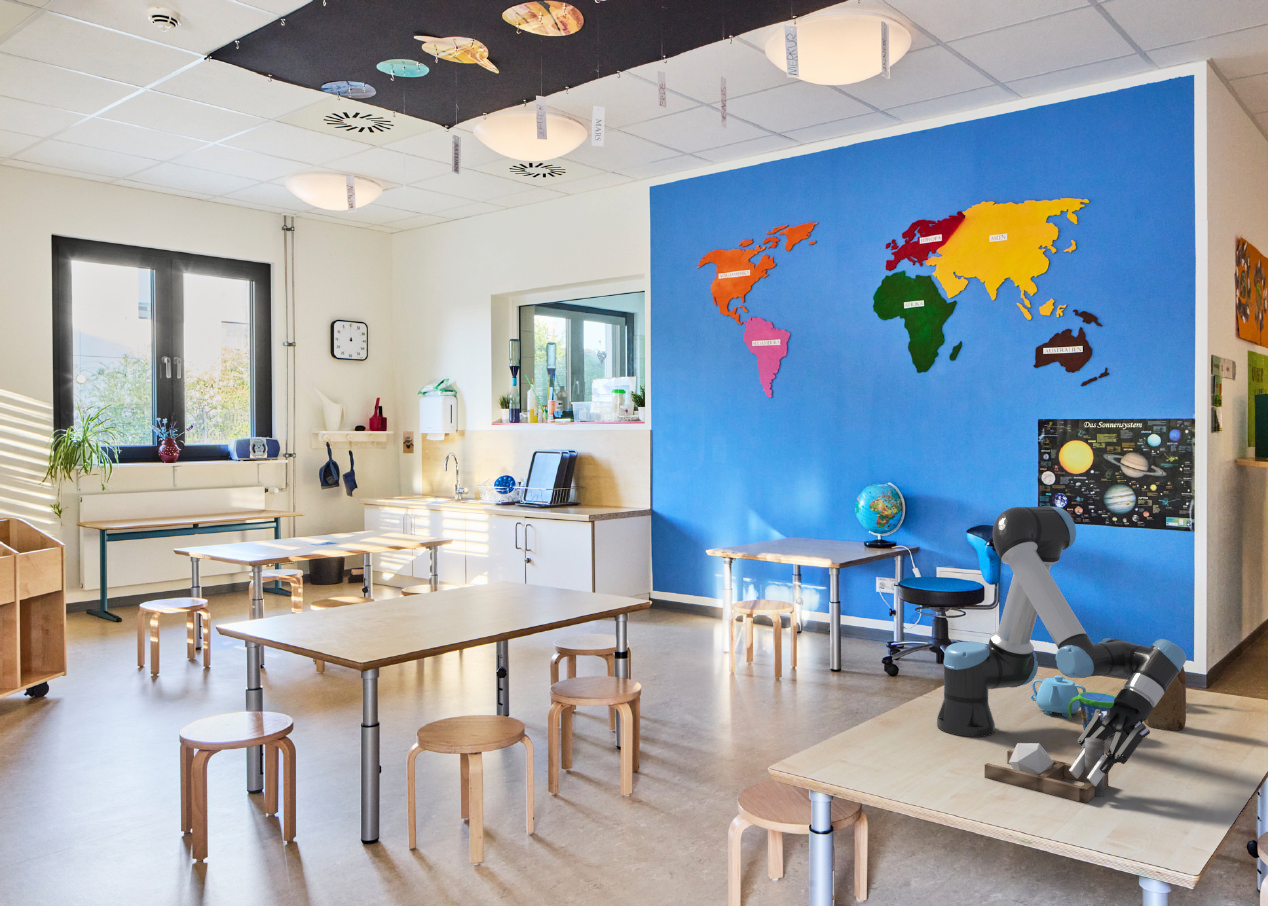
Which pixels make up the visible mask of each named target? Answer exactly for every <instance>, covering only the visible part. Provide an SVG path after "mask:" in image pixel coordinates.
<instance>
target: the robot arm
mask: <svg viewBox="0 0 1268 906" xmlns="http://www.w3.org/2000/svg"><path fill="white" fill-rule="evenodd" d="M1076 538H1077V527H1076V523H1075V522H1074V520H1073V517H1072V516H1071V515H1070V513H1069V512H1068V511H1066V509H1063V508H1061V507H1059V506H1050V505H1044V506H1014V507H1010V508H1007V509H1005V510H1003V512H1001V513H1000V514H999V516H998V517H997V518H996V519H995V522H994V523H993V526H992V541H993V542H992V543H993V546H994V549H995V552H996V553H997V555H998V557H999V558H1000V561H1001V563H1003V564H1004V565H1008V566H1009V568H1010V569H1011V570H1012V573H1013V575H1012V579H1011V582H1010V585H1009V589H1008V592H1007V595H1006V600H1005V605H1004V607H1003V610H1002V611H1003V612H1002V614H1001V618H1000V621H999V626H998V630H997V631H996V632H993V633H991V635H990V637H989V641H988V644H986V643H983V642H980V641H960V642H959V641H958V642H954V643H952V644H949V645H948V646H947V647H946V648H945V651H944V658H943V666H944V668H943V669H944V670H943V673H944V674H943V685H944V686H943V700H942V703H941V706H940V709H939V711H938V715H937V719H936V721H937V722H936V726H937V728H938V729H940V730H941V731H943V732H946V733H948V734H952V735H956V736H963V737H988V736H992V735H993V734H995V731H996V729H995V727H996V726H995V720H994V717H993V714H992V711H991V708H990V704H989V690H995V689H996V690H997V689H1003V688H1019V687H1021V686H1026V685H1027V684H1029V683H1031V682H1033V681H1034V679H1035V677H1036V675H1037V673H1038V669H1039V661H1038V660H1037V654H1036V651H1034V648H1035V647H1034V645H1033V643H1032V642H1031V638H1032V634H1033V630H1034V627H1035V626H1036V625H1035V624H1036V620H1037V617H1038V616H1039V618H1040V621H1041V622H1042V623H1043V625H1044V627H1045V629H1046V631H1047V632H1048V634H1049V635H1050V637H1051V639H1052V641H1053V642H1054V644H1055V646H1056V647H1057V652H1056V654H1055V661H1056V667H1057V669H1058V670H1059V672H1060V673H1061V674H1062V676H1063V675H1064V676H1065V677H1067V678H1073V679H1076V678H1077V679H1086V678H1090V677H1099V676H1109V675H1110V676H1111V675H1119V674H1124V675H1125V674H1126V675H1130V677H1129V678H1128V679H1127V681H1126V682H1125V683H1124V685H1123V687H1122V688H1121V689H1120V690H1119V692H1118V693H1117V694H1116V698H1115V699H1114V704H1113V707H1111V708H1110V709H1109V710H1108V711H1102V712H1101V711H1100V710H1099V709H1096V710H1095V713H1094V717H1093V718H1092V720H1091V721H1090V723H1089V724H1088V726H1087V727H1086V729H1085V730H1084V729H1083V732H1082V733H1081V735H1080V736H1079V738H1078V739H1077V741H1076V742H1077V743H1078V744H1079V745H1080V747H1081V749H1080V750H1079V752H1078V753H1077V755H1076V756H1075V758H1074V759H1075V760H1074V762H1073V763H1072V764H1073V765H1072V766H1071V768H1070V769H1069V771H1070V772H1071V773H1072V775H1073V776H1074V777H1075V778H1077V779H1078V778H1079V776H1080V775H1081V774H1082V772H1083V771H1084V769H1085V738H1098V739H1101V740H1103V741H1106V740H1108V738H1110V737H1111V736H1110V735H1112V736H1113V735H1114V737H1113V739H1112V742H1111V743H1110V745H1109V749H1108V751H1107V752H1105V753H1104V755H1102V756H1101V758H1100V759H1099V761H1098V762H1097V764H1096V765H1095V766H1094V768H1093V769H1092V771H1091V772H1090V774H1089V775H1088V777H1087V779H1088V780H1089V781H1090V782H1091V783H1092V784H1093V785H1094V786H1097V784H1098V783H1099V781H1100V780H1101V778H1102V777H1103V775H1104V774H1107V773H1108V774H1109V772H1110V771H1111V769H1112V768H1113V767H1114V765H1115V764H1117V763H1120V764H1123V765H1124V764H1126V763H1127V762H1128V760H1129V759H1130V757H1131V756H1132V755H1133V753H1134V752H1135V751H1136V750H1137V748H1138V746H1139V745H1140V743H1141V742H1142V741H1143V740H1144V738H1146V737H1147V736H1149V735H1150V733H1151V732H1150V731H1151V730H1150V729H1149V728H1148V727H1147V725H1146V724H1145V723H1144V721H1146V720H1147V718H1148V717H1149V715H1150V714H1151V712H1152V711H1153V707H1155V706H1156V705H1157V703H1158V702H1159V700H1160V699H1161V697H1162V696H1163V695H1164V693H1165V691H1166V690H1167V688H1168V687H1169V686H1170V684H1171V683H1172V681H1173V680H1174V679H1175V678H1176V676H1177V675H1178V674H1179V673H1180V671H1181V669H1182V667H1184V665H1185V664H1186V661H1187V653H1185V652H1184V650H1183V649H1182V648H1181V647H1180V646H1178V644H1176V643H1174V642H1172V641H1170V640H1168V639H1164V638H1160V639H1156V640H1155V641H1154V642H1153V643H1152V644H1151V645H1150V646H1147V645H1141V644H1136V643H1132V642H1130V641H1129V642H1128V641H1125V640H1122V639H1120V638H1109V637H1107V638H1102V640H1100V641H1099V642H1098V643H1097V642H1096V643H1093V641H1092V640H1091V638H1090V637H1089V635H1088V633H1087V631H1086V630H1085V628H1083V627H1084V626H1082V624H1081V622H1080V620H1079V619H1078V617H1077V616H1076V614H1075V612H1074V611H1073V609H1072V607H1071V606H1070V603H1068V601H1067V600H1066V598H1065V596H1064V594H1063V593H1062V591H1061V589H1060V588H1059V586H1058V585H1057V583H1056V581H1055V579H1054V578H1053V577H1052V575H1051V573H1050V572H1051V567H1052V565H1054V564H1057V563H1059V561H1060V558H1061V554H1062V553H1063V551H1065V550H1067V549H1069V548H1070V547H1072V546H1073V545H1074V543H1075V541H1076ZM1109 736H1110V737H1109Z"/></svg>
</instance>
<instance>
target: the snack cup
mask: <svg viewBox="0 0 1268 906" xmlns="http://www.w3.org/2000/svg"><path fill="white" fill-rule="evenodd" d="M1116 696H1117V695H1116ZM1116 696H1115V695H1112V694H1109V693H1103V692H1096V691H1095V692H1094V691H1088V692H1087V691H1086V692H1083V691H1082V692H1081V693H1080V692H1079V695H1078V696H1076V697H1074V698H1073V699H1072V700H1071V701H1070V703H1069V706H1068V714H1069V718H1068V719H1070V720H1072V719H1073V717H1072V714H1071V712H1072V703H1073V702H1075V701H1076V700H1078V701H1080V705H1081V707H1080V713H1081V721H1082V728H1083V731H1084V730H1085V729H1086V727H1087V726H1088V724H1089V723H1090V721H1091V720H1092V718H1093V717H1094V713H1095V710H1096V709H1099V710H1100V711H1101V712H1102V711H1108V710H1109V709H1110V708H1111V707H1113V704H1114V699H1115V698H1116ZM1112 736H1113V735H1110V736H1109V737H1108V738H1110V737H1112Z"/></svg>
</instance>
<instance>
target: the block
mask: <svg viewBox="0 0 1268 906" xmlns="http://www.w3.org/2000/svg"><path fill="white" fill-rule="evenodd" d="M1186 680H1187V679H1186V671H1185V667H1184V666H1183V667H1182V669H1181V671H1180V673H1179V674H1178V675H1177V676H1176V678H1175V679H1174V680H1173V681H1172V683H1171V684H1170V686H1169V687H1168V688H1167V690H1166V691H1165V693H1164V695H1163V696H1162V697H1161V699H1160V700H1159V702H1158V703H1157V705H1156V706H1155V707H1153V711H1152V712H1151V714H1150V715H1149V717H1148V718H1147V720H1146V721H1143V724H1144V725H1145V726H1149V727H1151V728H1154V729H1161V730H1168V731H1182V730H1184V729H1185V727H1186V720H1187V681H1186Z"/></svg>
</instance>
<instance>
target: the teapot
mask: <svg viewBox="0 0 1268 906" xmlns="http://www.w3.org/2000/svg"><path fill="white" fill-rule="evenodd" d="M1036 683H1041V684H1040V686H1039V688H1038V690H1037V689H1036ZM1031 688H1032V690H1033V694H1031V695H1030V699H1031V700H1032V701H1033V702H1036V704H1037V706H1038V708H1039V709H1040V710H1043V714H1044V715H1046V716H1047V715H1048V716H1050V715H1052V713H1057V714H1058V713H1059V714H1062V717H1063V718H1066V717H1067V719H1070V718H1069V714H1068V706H1069V703H1070V701H1071V700H1072V699H1073V698H1074V697H1076V696H1078V695H1079V694H1080V692H1079V690H1078V688H1079V689H1081V690H1082V693H1083V692H1087V690H1086V687H1084V686H1083V685H1082V684H1076V683H1075V682H1074V680H1070V679H1066V678H1065V677H1064V676H1063V675H1054V676H1053V677H1046V678H1044V679H1035V680H1032V684H1031ZM1079 709H1081V705H1080V701H1078V700H1076V701H1075V702H1073V703H1072V712H1071V715H1072V714H1075V713H1077V712H1078V711H1079Z"/></svg>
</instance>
